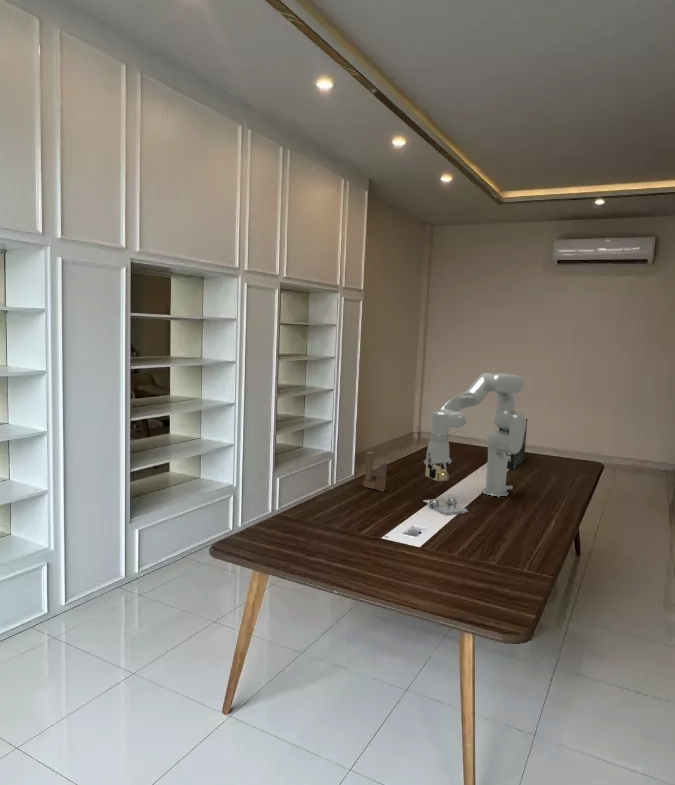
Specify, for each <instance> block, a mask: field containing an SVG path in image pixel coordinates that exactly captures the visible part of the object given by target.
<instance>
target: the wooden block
mask: <svg viewBox="0 0 675 785" xmlns="http://www.w3.org/2000/svg"><path fill="white" fill-rule="evenodd" d="M374 453H375V452H373V451H366V456H365V473H364V480H363V482H362V484H363V485H362V487H363V486H364V487H368V488H372V489H376V490H379V491H378V492H380V491H382V492H384V490H386V477H387V476H386V475H387V464H388V463H387V462H384V463H381V464H380V465H379V467H377V468H376V469H375V470H374V455H375V454H374ZM373 470H374V471H373ZM373 477H375V480H373ZM372 489H371V490H372ZM376 490H375V491H376Z"/></svg>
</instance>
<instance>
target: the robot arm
mask: <svg viewBox="0 0 675 785" xmlns="http://www.w3.org/2000/svg"><path fill="white" fill-rule="evenodd" d="M524 384H525V383H524V379H523V378H522V377H521V376H520V375H518V374H510V373H502V372H497V373H493V372H492V373H491V372H484V373H481V374H480V375H479V376H478V377H477V378H476V379H475V380H474V381H473V382H472V384H470V386H469V387H467V389H466V390H465V391H464V392H462V393H460V394H458V395H456V396H454V397H452V398H450V399H449V400H448V401H446V402H445V404H443V406H442V407H441V408H440V409H439V410H436V411H434V412H433V413H432V419H431V420H432V423H431V434H430V436H431V438H430V440H429V441H428V446H427V450H426V456H425V457H426V458H425V459H424V460H423V463H424V464H425V466H426V465H427V467H428V468H429V477H430V479H431V478H432V480H434V474H435V470H434V467H435V465H437V464H440V467H442V468H444V469H447V467H448V466H449V464H451V463H452V459H451V457H450V442H449V439H450V435H449V429H450V428H456V429H459V428H462V427H463V426H465V424H466V422H467V417H466V415H465V414H464V413H463V412H461V410H462V409H467V408H471V407H476V406H478V405H479V404H480V403H481V402H482V401H483V400H484V399H485V398H486V397H487V395H488V394H489V393H490V392H494V393H495V394H496V398H497V403H496V408H495V412H494V420H493V424H494V425H495V426H496V427H497V428H498V429H499V428H502V429H506V430H509V433H507V432H502V431H499V430H493V431H491V432H490V433H489V434H487V438H486V444H487V465H486V477H485V478H486V479H485V488H482V490H481V492H483V493H484V494H483V493H482V494H483V495H485V494H487V495H486V496H488V495H491V496H490V497H493V496H497V497H496V498H501V497H500V496H506V497H508V496H509V492H508V490H510V491H511V490H513V488H514V487H513V485H507V471H508V469H507V463H508V459H507V455H506V453H510V454H516V453H518V452H519V451H520V449H521V447H522V443H523V438H524V433H525V428H526V419H527V418H526V416H525V415H524V414H523V413H522V412H519V411H515V408H516V395H515V394H517V393H519V392H521V391H522V390H523V388H524ZM429 477H428V478H429ZM507 495H508V496H507Z"/></svg>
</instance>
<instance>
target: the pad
mask: <svg viewBox="0 0 675 785" xmlns="http://www.w3.org/2000/svg"><path fill="white" fill-rule="evenodd" d="M431 500H437V499H436V498H435V499H434V498H432V499H424V500H422V501H423V502H425V503H427V504H428V505H429V504H430V501H431ZM438 502H439V507H441V506H448V505H447V503H444V502H442V501H440V500H438Z"/></svg>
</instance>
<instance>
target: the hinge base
mask: <svg viewBox="0 0 675 785" xmlns="http://www.w3.org/2000/svg"><path fill="white" fill-rule="evenodd" d="M430 500H431V501H430V504H428V505H429V507H430V509H432V510H434V511H437V513H440V514H441V515H444V516H451V515H460V513H461V514H467V513H466V512H468V513H469V510H468V509H467V508H464V507H462V506H460V505H458V504H457V500H456V498H455V497H451V498H447V499H446V505H447V506H440V507H439V502H438V501H439V500H438V499H436V500H433V499H430Z"/></svg>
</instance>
